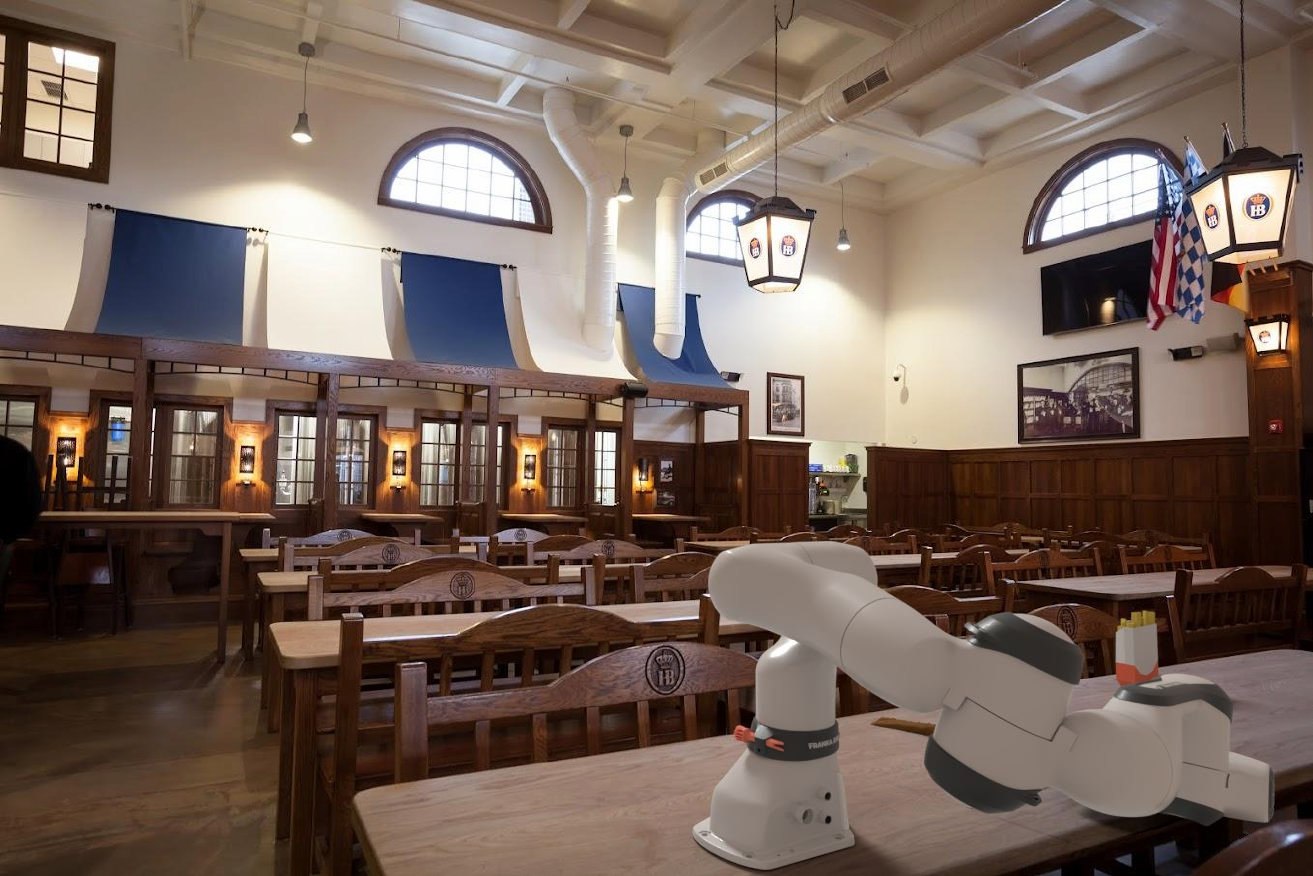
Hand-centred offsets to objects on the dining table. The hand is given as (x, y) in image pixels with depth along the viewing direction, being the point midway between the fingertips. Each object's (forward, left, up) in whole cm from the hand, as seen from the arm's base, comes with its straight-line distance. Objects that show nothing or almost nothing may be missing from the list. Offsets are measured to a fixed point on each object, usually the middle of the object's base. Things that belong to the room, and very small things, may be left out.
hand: (1043, 739), depth 127 cm
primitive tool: (+7, +27, -7) cm, 29 cm away
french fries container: (+75, +12, -7) cm, 76 cm away
